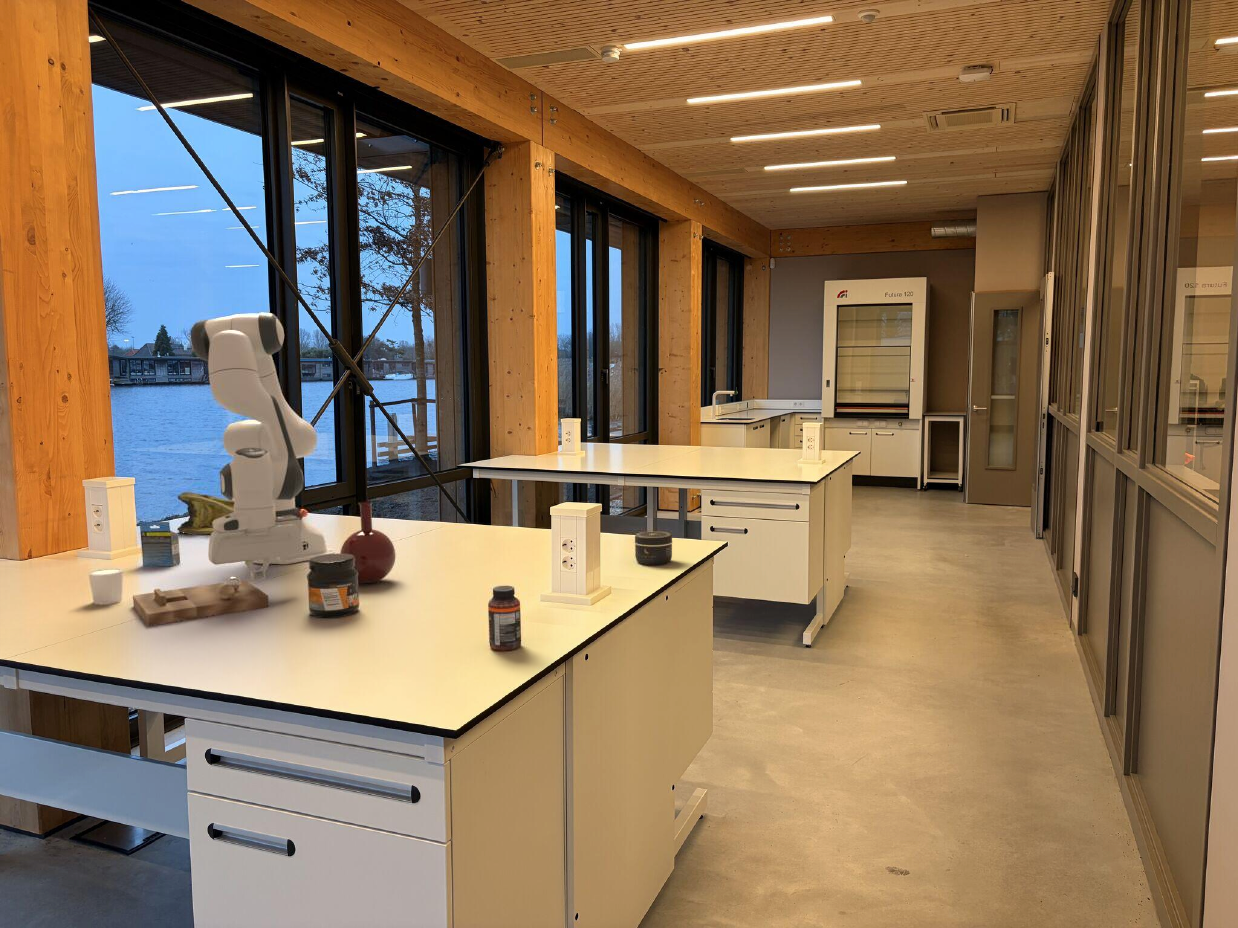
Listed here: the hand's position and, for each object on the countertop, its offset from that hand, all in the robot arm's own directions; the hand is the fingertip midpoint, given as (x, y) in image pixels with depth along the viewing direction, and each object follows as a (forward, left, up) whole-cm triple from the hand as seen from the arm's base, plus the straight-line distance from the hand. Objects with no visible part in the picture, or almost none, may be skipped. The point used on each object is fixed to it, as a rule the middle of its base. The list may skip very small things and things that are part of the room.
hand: (258, 578), depth 207 cm
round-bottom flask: (-26, +2, -5) cm, 26 cm away
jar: (-94, +29, -5) cm, 98 cm away
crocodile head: (-14, -100, -5) cm, 101 cm away
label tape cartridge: (+11, -55, -5) cm, 57 cm away
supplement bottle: (-27, +69, -5) cm, 74 cm away
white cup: (+28, -19, -5) cm, 35 cm away
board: (+12, 0, -5) cm, 13 cm away
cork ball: (+8, +7, 0) cm, 11 cm away
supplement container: (-10, +24, -5) cm, 26 cm away
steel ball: (+5, 0, 0) cm, 6 cm away
